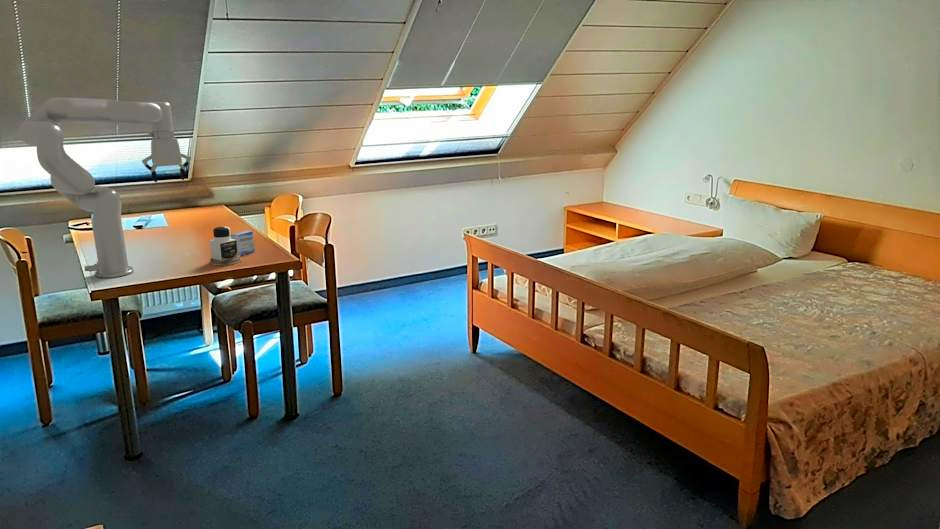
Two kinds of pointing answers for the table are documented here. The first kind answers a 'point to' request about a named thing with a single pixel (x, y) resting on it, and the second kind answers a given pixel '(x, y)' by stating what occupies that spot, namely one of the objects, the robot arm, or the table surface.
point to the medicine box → (244, 242)
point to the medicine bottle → (223, 244)
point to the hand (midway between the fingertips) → (169, 180)
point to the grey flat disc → (226, 262)
